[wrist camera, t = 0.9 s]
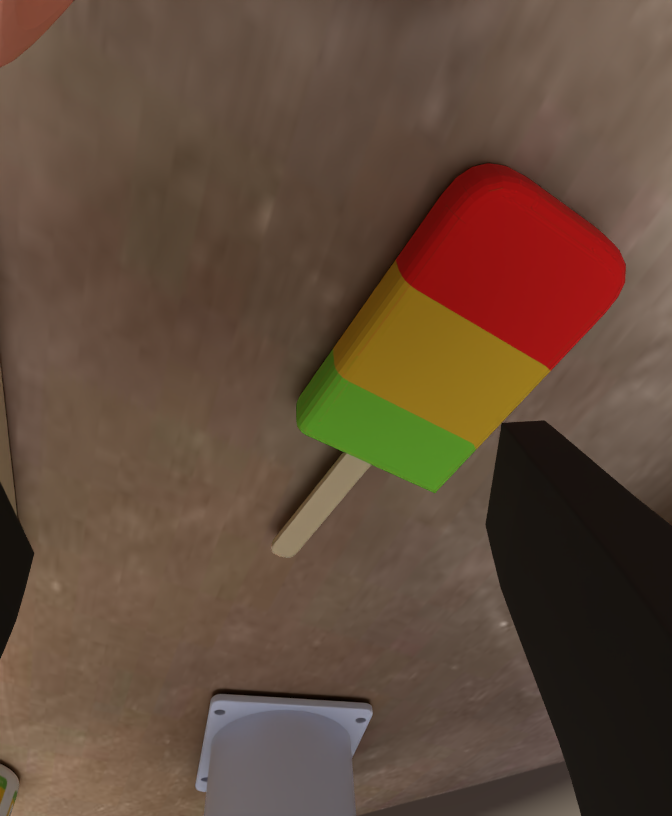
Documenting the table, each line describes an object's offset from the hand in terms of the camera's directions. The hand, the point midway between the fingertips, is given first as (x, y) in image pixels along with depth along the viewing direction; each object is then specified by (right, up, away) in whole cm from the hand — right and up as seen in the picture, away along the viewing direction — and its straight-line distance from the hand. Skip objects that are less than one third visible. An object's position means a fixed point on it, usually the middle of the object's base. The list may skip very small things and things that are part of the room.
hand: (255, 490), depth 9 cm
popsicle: (+3, +2, +11) cm, 12 cm away
